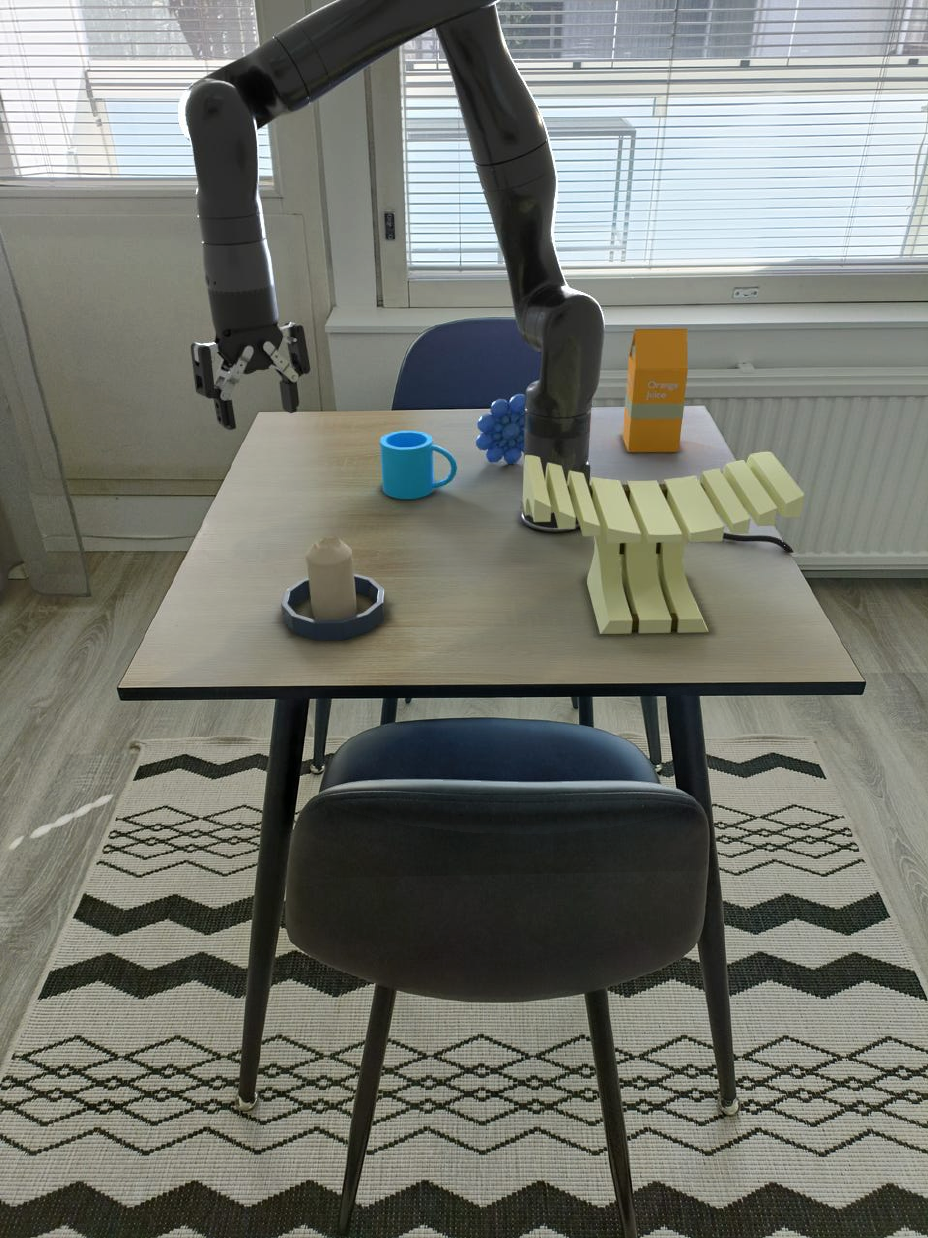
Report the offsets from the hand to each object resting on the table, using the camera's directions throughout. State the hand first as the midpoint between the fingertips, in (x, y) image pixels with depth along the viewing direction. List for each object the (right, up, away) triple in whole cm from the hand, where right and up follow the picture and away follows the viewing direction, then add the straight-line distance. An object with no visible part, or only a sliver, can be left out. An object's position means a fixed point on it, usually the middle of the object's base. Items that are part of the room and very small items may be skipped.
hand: (260, 419), depth 117 cm
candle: (+9, -24, +3) cm, 26 cm away
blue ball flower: (+33, +2, +45) cm, 56 cm away
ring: (+9, -24, +3) cm, 25 cm away
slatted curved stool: (+48, -22, +5) cm, 53 cm away
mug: (+18, -4, +36) cm, 40 cm away
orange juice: (+57, +6, +52) cm, 78 cm away
